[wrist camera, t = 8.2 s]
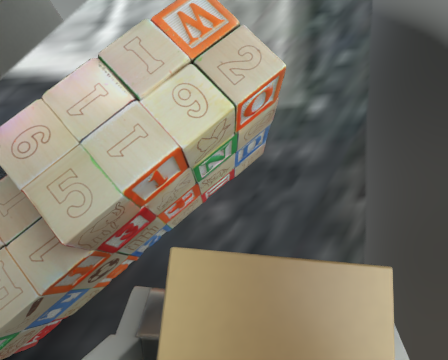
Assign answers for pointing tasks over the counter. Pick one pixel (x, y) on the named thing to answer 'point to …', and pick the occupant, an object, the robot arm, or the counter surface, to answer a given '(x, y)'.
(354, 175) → the counter surface
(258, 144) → the stack of blocks
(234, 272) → the birch block
